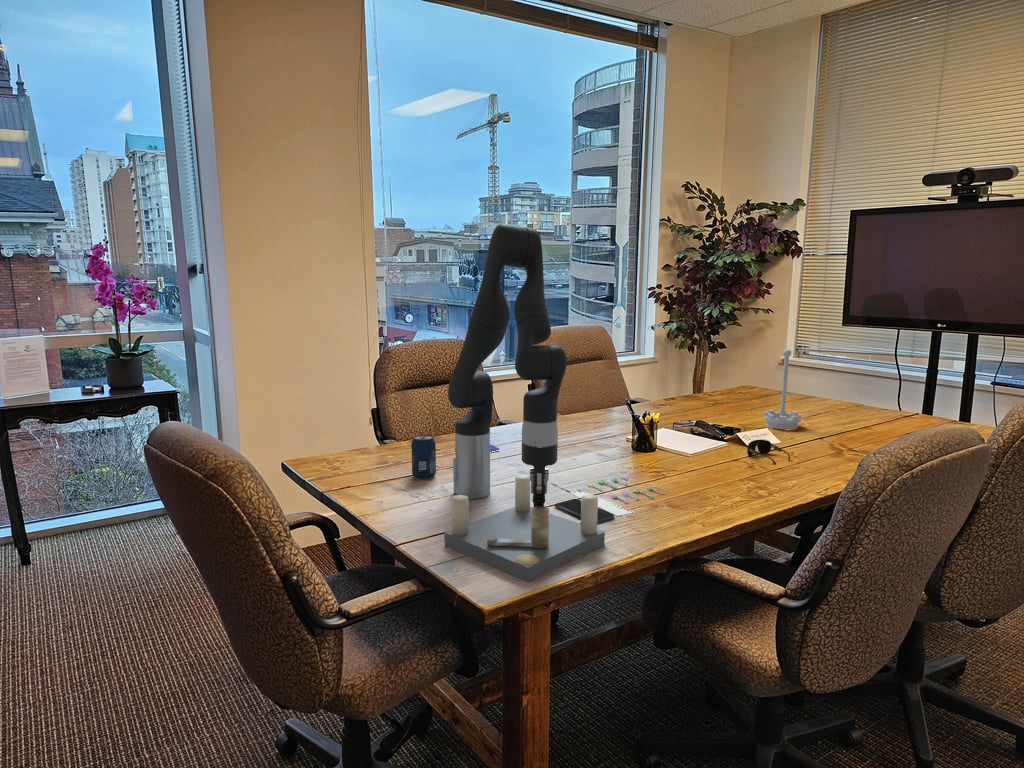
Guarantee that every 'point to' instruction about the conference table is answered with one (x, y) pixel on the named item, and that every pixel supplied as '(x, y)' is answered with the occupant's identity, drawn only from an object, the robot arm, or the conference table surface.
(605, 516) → the phone
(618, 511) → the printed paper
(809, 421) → the conference table surface
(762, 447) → the sunglasses
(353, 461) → the conference table surface
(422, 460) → the soda can
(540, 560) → the grey square base plate
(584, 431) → the conference table surface
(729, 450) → the conference table surface
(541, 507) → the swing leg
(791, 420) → the flag stand
